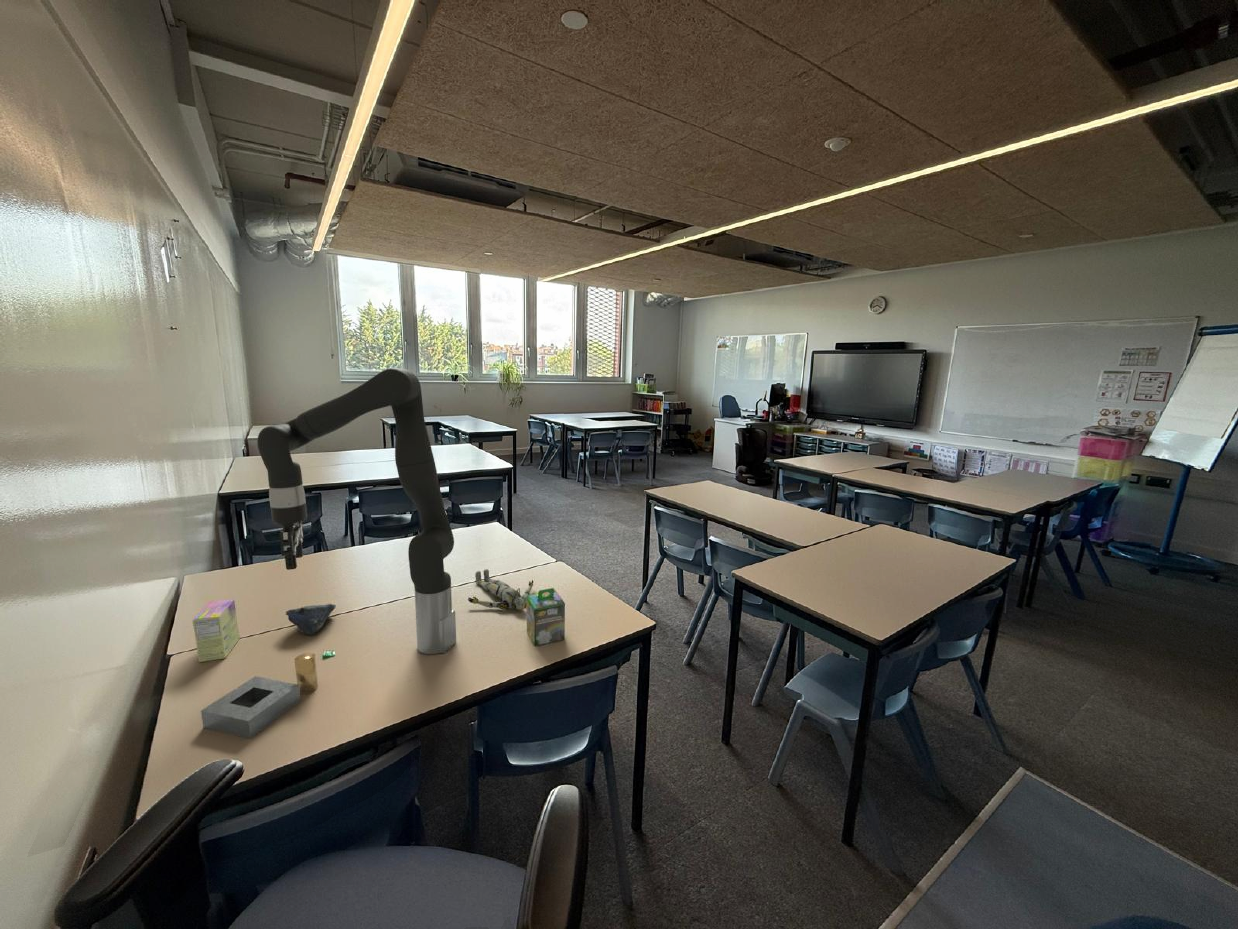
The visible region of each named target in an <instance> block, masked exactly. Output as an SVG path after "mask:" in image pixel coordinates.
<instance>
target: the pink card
mask: <svg viewBox="0 0 1238 929" xmlns="http://www.w3.org/2000/svg"><path fill="white" fill-rule="evenodd" d="M335 654H336V650H330V649H329V650H326V649H325V650H324V649H323V654H322V659H327V658H333V657H335V656H336V655H335Z"/></svg>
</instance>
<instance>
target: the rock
mask: <svg viewBox="0 0 1238 929" xmlns="http://www.w3.org/2000/svg"><path fill="white" fill-rule="evenodd" d="M335 609H336V604H332V603H326V604H318V605H317V604H315V605H306V606H302V607H299V608H294V609H288V610H286V612H285V616H287V618H288V621H289V622H290V623H292V624H293V625H294V626H296V627H297V628H298V629H299V631H301V632H302V633H303V634H305V635H307V636H311V637H312V636H314V635H315V634H316V633H317V631H319V630H320V629H321V628H322V627H323V626H324V624H325V621H326V620H327V619H328V618H329V617H330V615H331V613H332V612H333V611H334V610H335Z"/></svg>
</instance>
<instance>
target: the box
mask: <svg viewBox="0 0 1238 929" xmlns="http://www.w3.org/2000/svg"><path fill="white" fill-rule="evenodd" d="M192 626H193V632H194V633H193V634H194V637H195V643H196V644H195V645H196V650H197V657H198V663H203V662H211V661H217V660H223V659H226V658H227V656H229V654H230V653H231V651H232V650H233V648H234V647H235V645H236V644H237V643H238V642H239V640H240V637H241V636H240V631H239V630H240V629H239V623H238V617H237V608H236V603H235V599H234V598H233V599H223V600H216V601H209V602H208V604H207V605H206V606H204V608H202V610H201V611H200V612H199V613H198V614H197V615H196V616H195V617H194V618H193V619H192Z"/></svg>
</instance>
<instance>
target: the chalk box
mask: <svg viewBox="0 0 1238 929" xmlns="http://www.w3.org/2000/svg"><path fill="white" fill-rule="evenodd" d="M525 606H526V607H525V608H526V609H525V610H526V613H525V614H526V631H527V634H528V636H529V638H530V639H531V641H532V644H533V646H534V647H537V646H541V645H545V644H550V643H554V642H560V641H564V640H565V636H566V635H565V632H566V629H565V626H566V624H565V623H566V622H565V621H566V616H565V615H566V603H565V601H564V599H562V597H561V595H560V594H559V593H558V592H557V591H556V590H555V588H554V587H550V588H546V589H545V588H544V589H540V590H538V592H536V593H532V594H530V595H528V596H526V604H525Z"/></svg>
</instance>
